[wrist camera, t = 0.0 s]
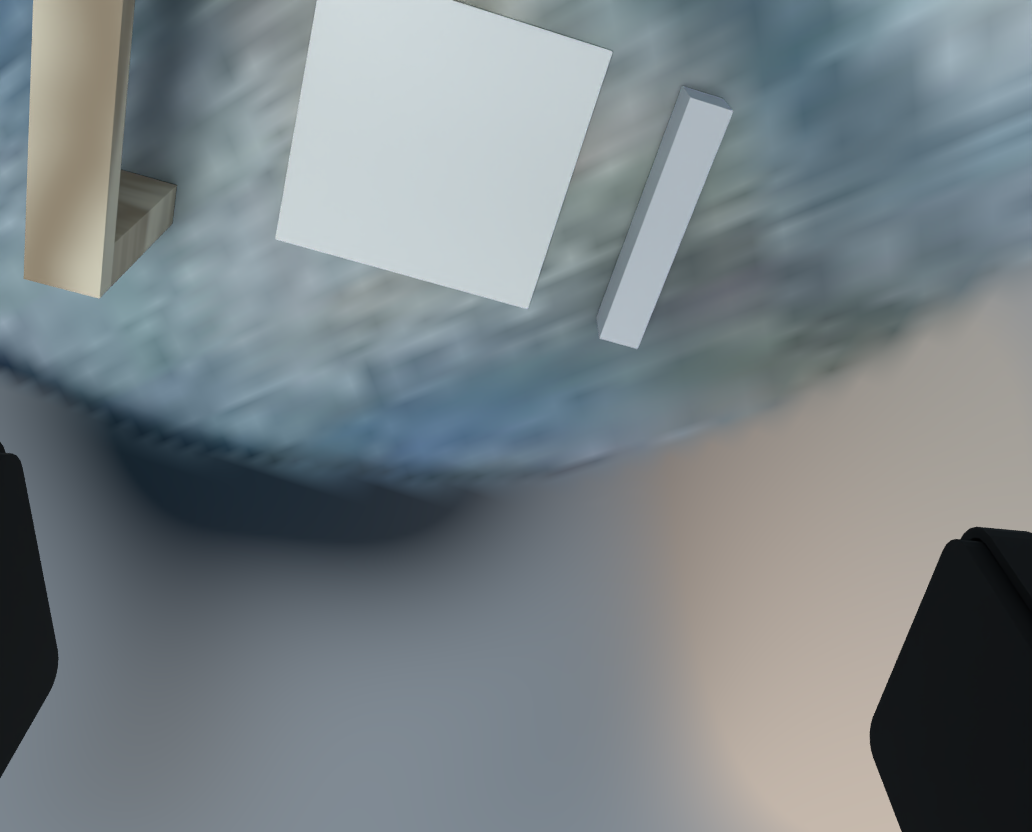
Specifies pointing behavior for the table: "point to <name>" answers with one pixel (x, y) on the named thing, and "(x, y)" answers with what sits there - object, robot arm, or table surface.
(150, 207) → the bridge
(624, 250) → the wall
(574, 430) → the table surface
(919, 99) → the table surface
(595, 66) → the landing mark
